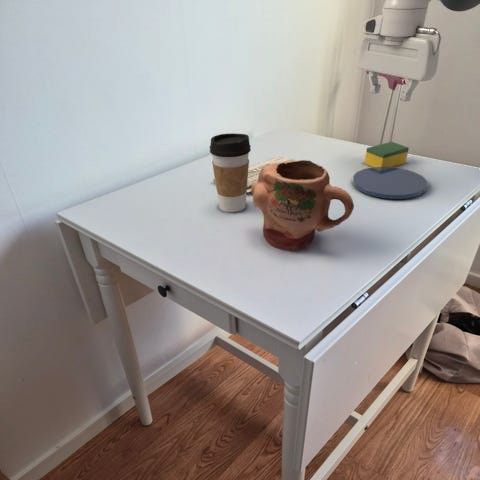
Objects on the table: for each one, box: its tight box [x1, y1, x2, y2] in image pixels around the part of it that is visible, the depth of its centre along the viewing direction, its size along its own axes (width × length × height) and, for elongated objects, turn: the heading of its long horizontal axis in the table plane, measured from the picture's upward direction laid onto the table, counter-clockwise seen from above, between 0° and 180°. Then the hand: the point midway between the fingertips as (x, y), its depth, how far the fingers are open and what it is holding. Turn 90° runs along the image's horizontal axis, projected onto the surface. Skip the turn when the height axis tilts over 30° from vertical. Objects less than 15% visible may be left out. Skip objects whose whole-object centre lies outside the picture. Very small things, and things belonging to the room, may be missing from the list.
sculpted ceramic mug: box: [250, 159, 355, 252], centre depth 78 cm, size 20×12×14 cm, turn 64°
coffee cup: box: [209, 133, 252, 213], centre depth 90 cm, size 8×8×15 cm
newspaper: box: [212, 156, 298, 193], centre depth 106 cm, size 23×12×2 cm, turn 129°
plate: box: [352, 166, 428, 200], centre depth 101 cm, size 17×17×1 cm
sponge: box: [363, 141, 410, 168], centre depth 111 cm, size 9×6×4 cm, turn 121°
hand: (389, 96), depth 98 cm, fingers open, 8 cm apart
